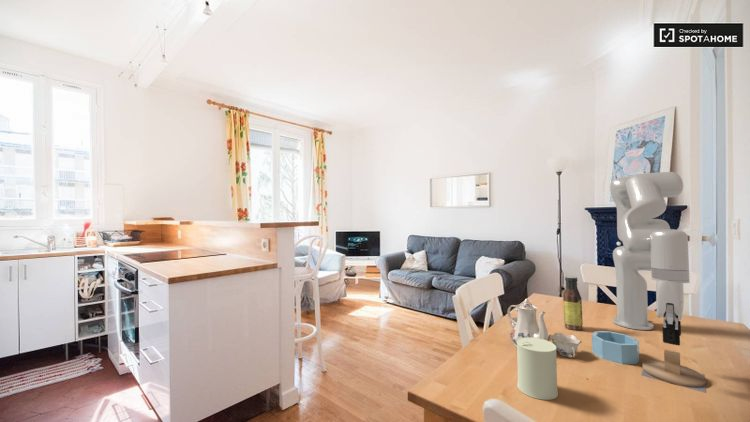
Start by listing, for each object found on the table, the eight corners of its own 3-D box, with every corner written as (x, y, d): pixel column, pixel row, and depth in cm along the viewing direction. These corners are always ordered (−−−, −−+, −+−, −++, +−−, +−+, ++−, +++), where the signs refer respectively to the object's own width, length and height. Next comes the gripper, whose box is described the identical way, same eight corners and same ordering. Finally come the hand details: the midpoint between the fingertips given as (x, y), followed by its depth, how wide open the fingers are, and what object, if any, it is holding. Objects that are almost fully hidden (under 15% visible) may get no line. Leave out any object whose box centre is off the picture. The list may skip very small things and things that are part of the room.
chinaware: (592, 363, 96) (594, 309, 97) (554, 368, 89) (557, 310, 90) (518, 332, 122) (520, 290, 123) (485, 335, 115) (488, 290, 116)
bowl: (597, 346, 104) (597, 328, 104) (640, 357, 96) (640, 337, 96) (590, 357, 96) (589, 337, 96) (636, 369, 88) (635, 348, 88)
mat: (645, 362, 93) (645, 360, 93) (704, 376, 84) (704, 374, 84) (641, 377, 84) (641, 374, 84) (705, 394, 76) (705, 392, 76)
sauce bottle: (585, 331, 118) (584, 279, 118) (567, 330, 119) (566, 278, 119) (578, 325, 124) (577, 275, 125) (561, 324, 125) (559, 275, 126)
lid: (645, 359, 93) (644, 339, 93) (705, 374, 84) (704, 352, 84) (640, 375, 84) (639, 352, 84) (706, 393, 75) (705, 368, 75)
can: (510, 380, 83) (509, 335, 83) (542, 379, 84) (541, 334, 84) (530, 401, 74) (529, 350, 74) (566, 398, 75) (565, 348, 75)
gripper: (654, 270, 93) (656, 328, 93) (648, 277, 81) (650, 343, 80) (689, 273, 88) (692, 334, 87) (689, 281, 76) (692, 352, 75)
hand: (672, 338), depth 84 cm, fingers open, 9 cm apart
